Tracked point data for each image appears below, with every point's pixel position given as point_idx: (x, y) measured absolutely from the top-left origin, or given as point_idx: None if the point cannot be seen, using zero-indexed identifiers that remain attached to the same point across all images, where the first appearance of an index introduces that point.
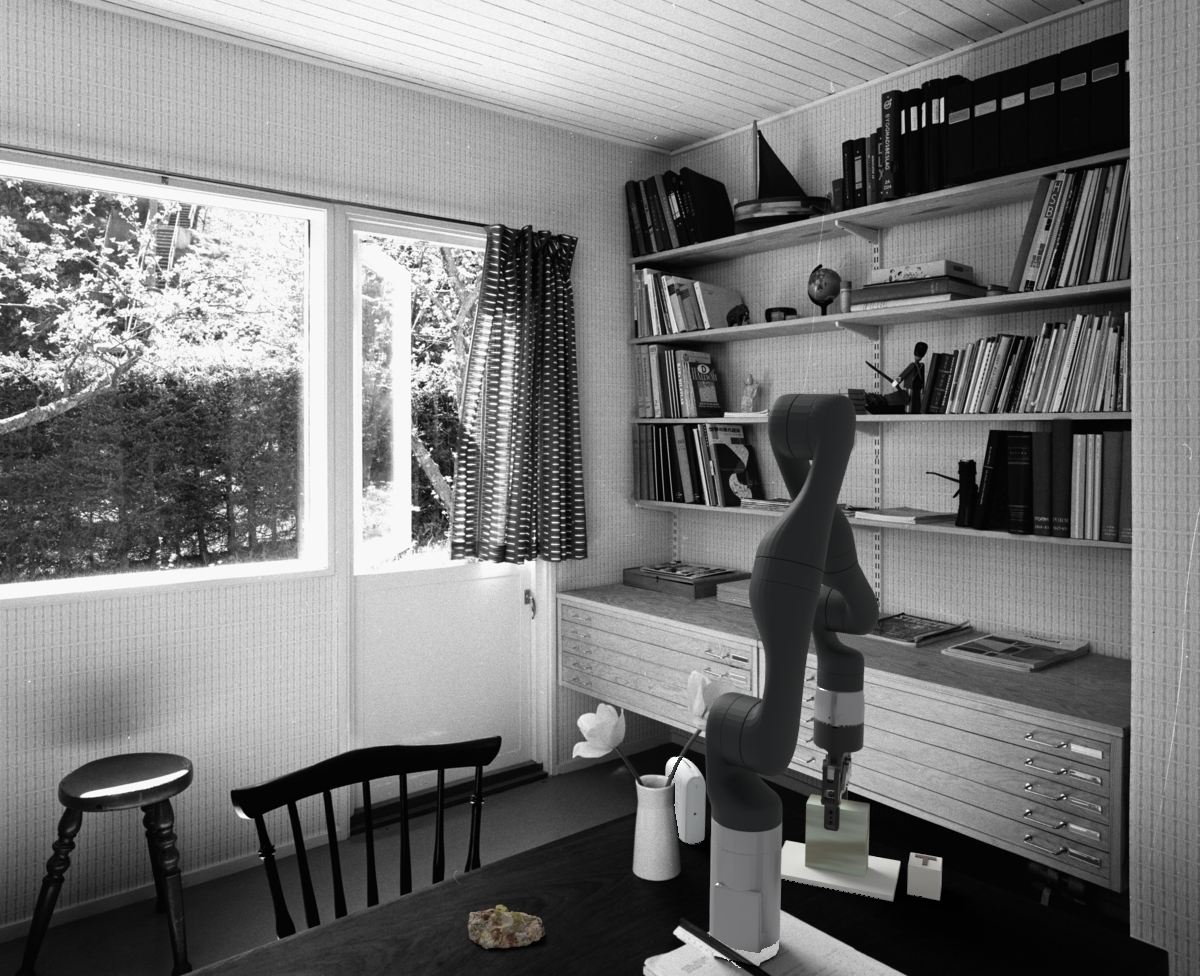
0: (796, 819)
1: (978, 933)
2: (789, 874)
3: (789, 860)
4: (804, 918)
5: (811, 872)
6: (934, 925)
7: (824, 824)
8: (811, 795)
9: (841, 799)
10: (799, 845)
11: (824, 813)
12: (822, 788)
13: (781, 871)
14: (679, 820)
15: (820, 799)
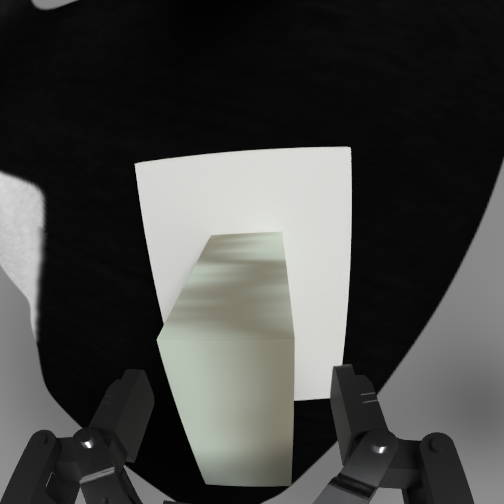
0: (495, 149)
1: (172, 460)
2: (148, 211)
3: (224, 188)
4: (44, 275)
5: (188, 257)
6: (156, 431)
7: (123, 377)
8: (275, 344)
9: (290, 437)
10: (334, 190)
11: (110, 404)
12: (13, 478)
13: (151, 188)
14: None
15: (245, 383)
